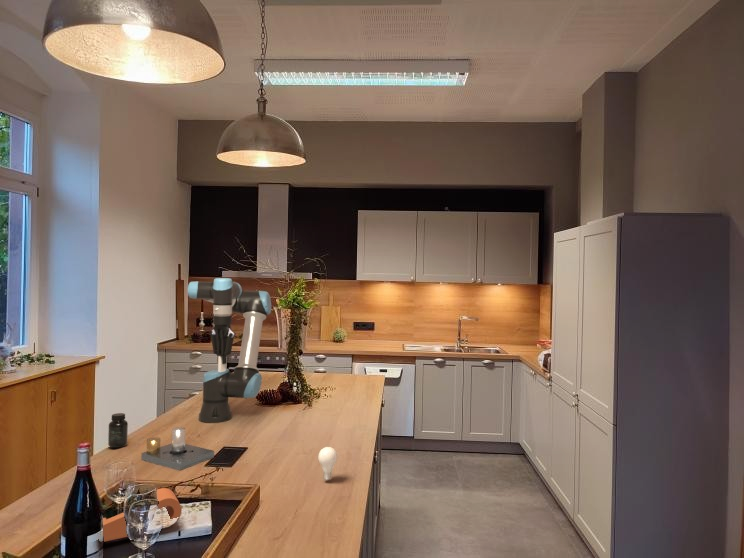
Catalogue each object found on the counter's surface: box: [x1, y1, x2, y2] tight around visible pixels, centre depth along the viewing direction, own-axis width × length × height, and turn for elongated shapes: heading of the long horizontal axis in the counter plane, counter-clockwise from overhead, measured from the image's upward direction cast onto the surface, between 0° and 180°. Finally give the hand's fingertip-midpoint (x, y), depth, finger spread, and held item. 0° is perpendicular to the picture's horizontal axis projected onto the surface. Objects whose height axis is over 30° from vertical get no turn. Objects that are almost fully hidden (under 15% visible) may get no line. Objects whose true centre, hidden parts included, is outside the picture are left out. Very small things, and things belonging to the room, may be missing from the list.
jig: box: [141, 436, 215, 472], centre depth 195 cm, size 20×16×7 cm
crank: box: [102, 487, 182, 543], centre depth 142 cm, size 20×8×8 cm, turn 122°
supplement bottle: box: [107, 412, 129, 448], centre depth 209 cm, size 7×7×12 cm
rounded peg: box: [171, 426, 186, 455], centre depth 195 cm, size 5×5×11 cm
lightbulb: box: [317, 446, 338, 482], centre depth 177 cm, size 6×6×11 cm
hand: (221, 371), depth 220 cm, fingers closed
